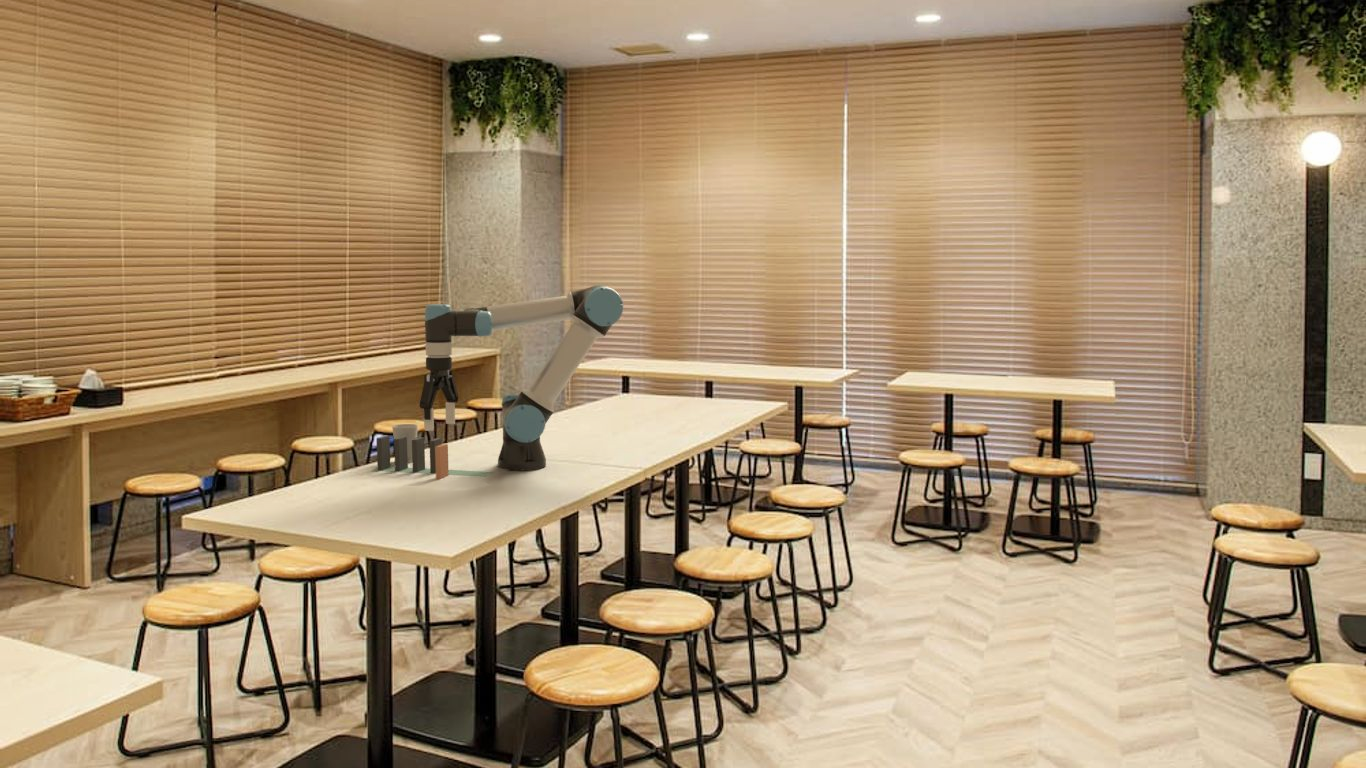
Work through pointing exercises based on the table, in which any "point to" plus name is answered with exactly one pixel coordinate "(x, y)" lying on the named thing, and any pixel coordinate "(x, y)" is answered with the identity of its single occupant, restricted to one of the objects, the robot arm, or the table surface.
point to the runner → (427, 471)
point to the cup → (408, 432)
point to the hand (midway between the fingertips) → (440, 427)
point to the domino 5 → (441, 461)
